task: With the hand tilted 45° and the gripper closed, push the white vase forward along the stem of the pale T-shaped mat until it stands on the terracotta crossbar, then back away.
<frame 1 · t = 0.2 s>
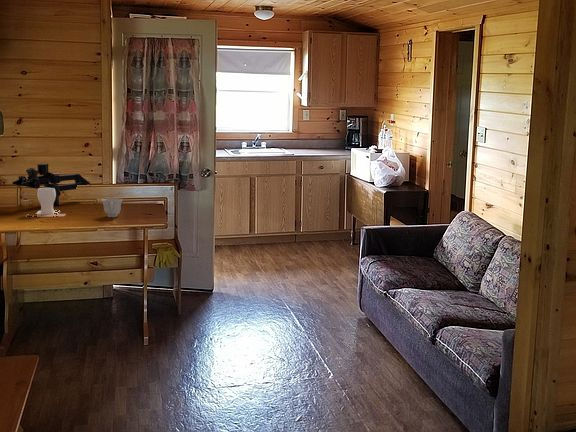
hand: (16, 183, 433), 16 cm above the table, tool horizontal, fingers open, 9 cm apart
teacup: (112, 217, 420), on the table
white vase: (47, 213, 427), on the table, touching t mat
t mat: (46, 215, 420), on the table
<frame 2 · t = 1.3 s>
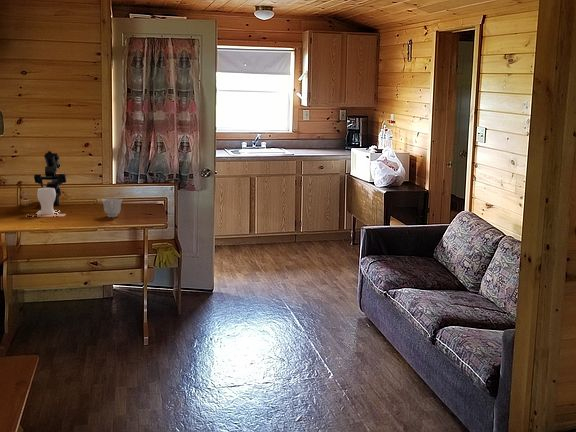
hand: (49, 189, 439), 13 cm above the table, tool tilted 45°, fingers open, 8 cm apart
nothing on the table moved.
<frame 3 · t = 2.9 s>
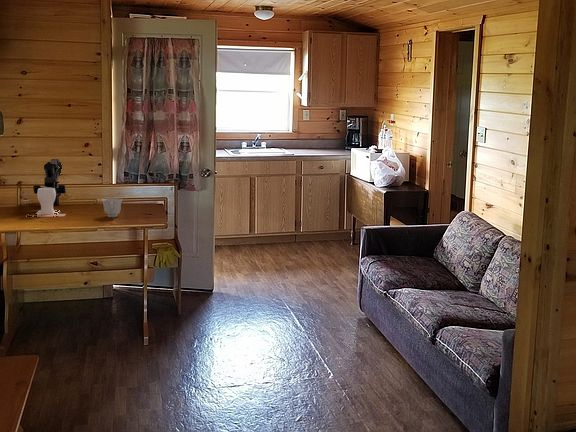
hand: (48, 200, 434), 7 cm above the table, tool tilted 45°, fingers closed
nothing on the table moved.
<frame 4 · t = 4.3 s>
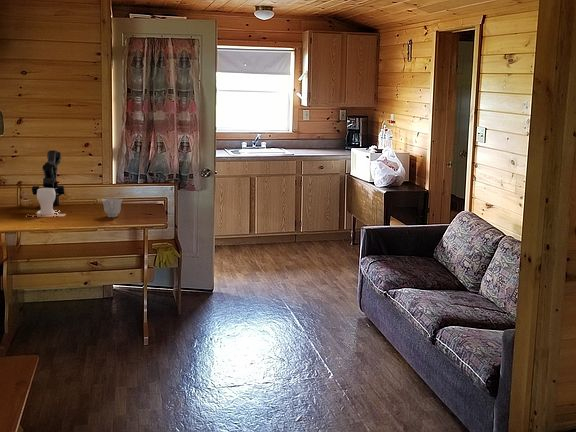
hand: (47, 201, 429), 7 cm above the table, tool tilted 45°, fingers closed
white vase: (47, 214, 425), on the table, touching gripper, t mat
everything else where it was.
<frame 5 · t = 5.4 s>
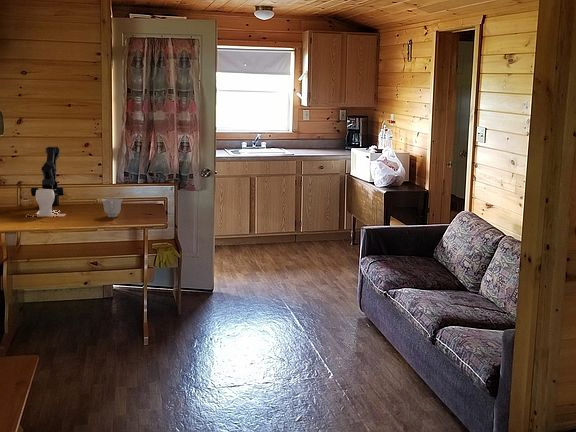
hand: (46, 202, 424), 7 cm above the table, tool tilted 45°, fingers closed, pressing on white vase
white vase: (46, 215, 421), on the table, touching gripper
everything else where it was.
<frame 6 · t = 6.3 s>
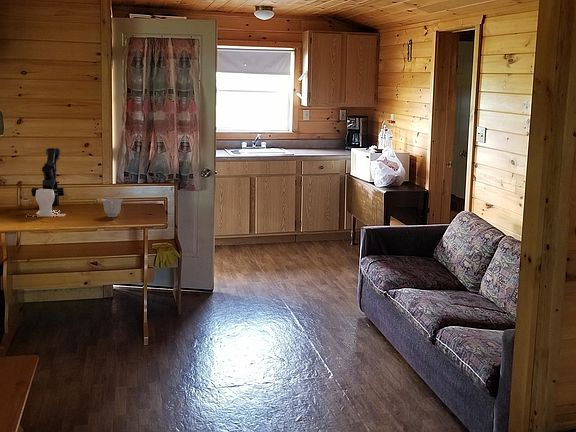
hand: (47, 203, 426), 6 cm above the table, tool tilted 45°, fingers closed
white vase: (45, 215, 420), on the table, touching t mat
everything else where it was.
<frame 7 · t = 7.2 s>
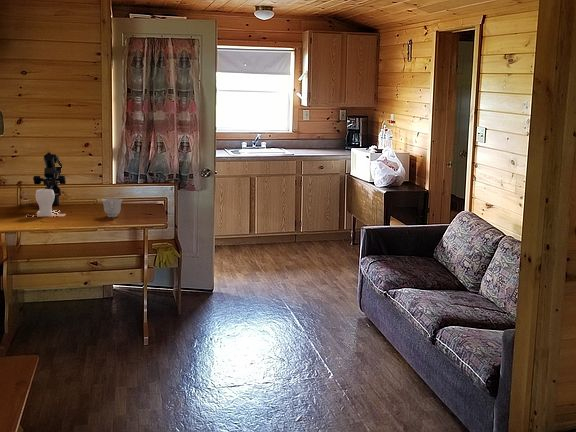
hand: (48, 190, 435), 12 cm above the table, tool tilted 45°, fingers closed
nothing on the table moved.
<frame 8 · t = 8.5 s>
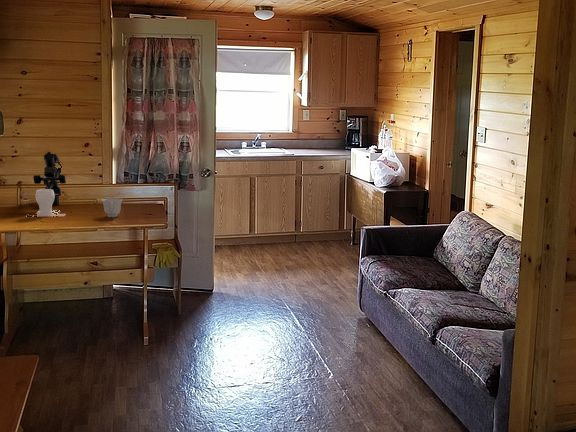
hand: (48, 190, 435), 13 cm above the table, tool tilted 45°, fingers closed
nothing on the table moved.
at the end: white vase 0.2 cm from the t mat (horizontally); white vase tilted 0°; the gripper is holding nothing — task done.
